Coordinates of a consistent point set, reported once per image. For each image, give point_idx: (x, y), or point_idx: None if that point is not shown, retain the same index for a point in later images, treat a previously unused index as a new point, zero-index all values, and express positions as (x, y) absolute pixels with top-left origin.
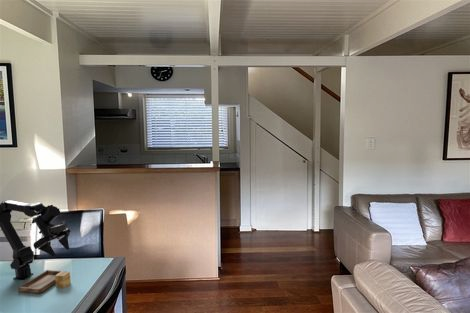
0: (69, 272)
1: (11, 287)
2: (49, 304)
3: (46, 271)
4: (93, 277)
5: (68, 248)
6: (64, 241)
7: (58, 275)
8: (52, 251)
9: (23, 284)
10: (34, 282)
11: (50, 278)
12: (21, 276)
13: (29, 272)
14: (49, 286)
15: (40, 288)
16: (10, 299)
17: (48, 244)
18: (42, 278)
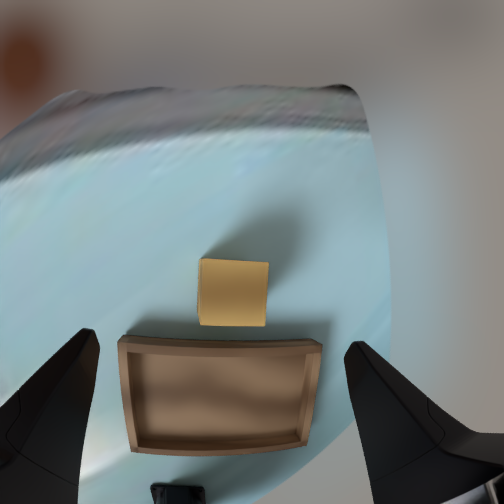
0: (204, 258)
1: (260, 482)
2: (368, 239)
3: (142, 446)
4: (129, 172)
5: (89, 337)
6: (45, 454)
7: (261, 303)
8: (403, 380)
9: (281, 448)
10: (230, 436)
11: (180, 396)
12: (199, 502)
13: (174, 496)
14: (258, 342)
15: (314, 349)
16: (341, 417)
17: (495, 439)
18: (188, 430)
